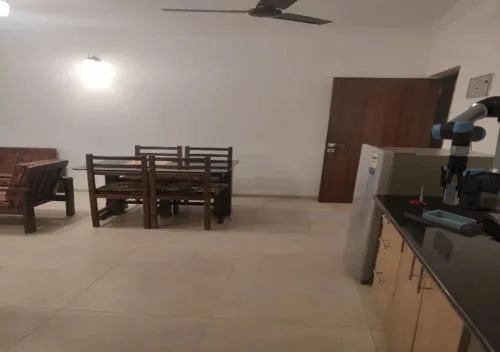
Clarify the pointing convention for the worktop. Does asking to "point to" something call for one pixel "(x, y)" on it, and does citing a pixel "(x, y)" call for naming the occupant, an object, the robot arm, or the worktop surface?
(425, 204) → the tow hook
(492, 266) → the worktop surface
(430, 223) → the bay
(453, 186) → the dark grey block
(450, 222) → the crate
